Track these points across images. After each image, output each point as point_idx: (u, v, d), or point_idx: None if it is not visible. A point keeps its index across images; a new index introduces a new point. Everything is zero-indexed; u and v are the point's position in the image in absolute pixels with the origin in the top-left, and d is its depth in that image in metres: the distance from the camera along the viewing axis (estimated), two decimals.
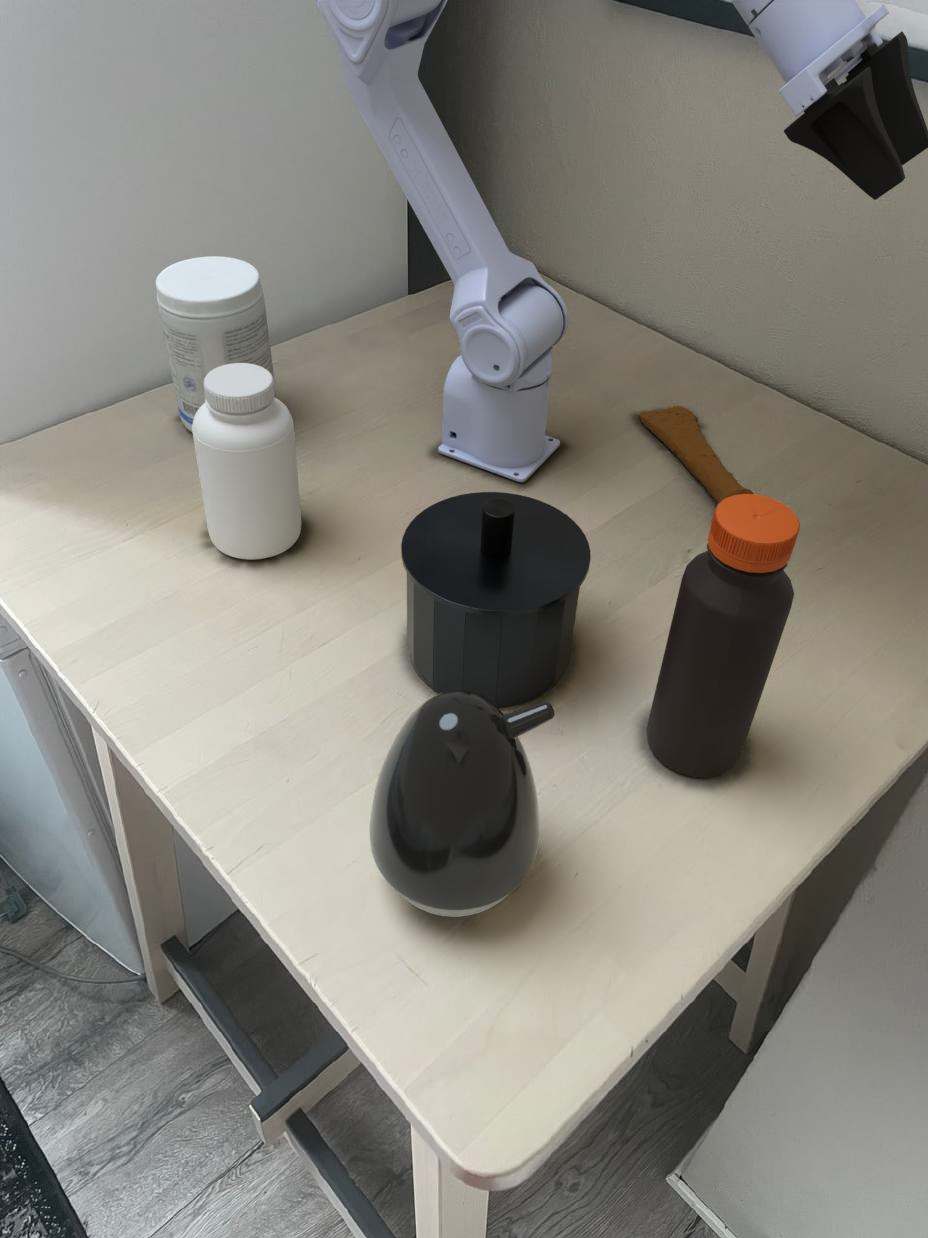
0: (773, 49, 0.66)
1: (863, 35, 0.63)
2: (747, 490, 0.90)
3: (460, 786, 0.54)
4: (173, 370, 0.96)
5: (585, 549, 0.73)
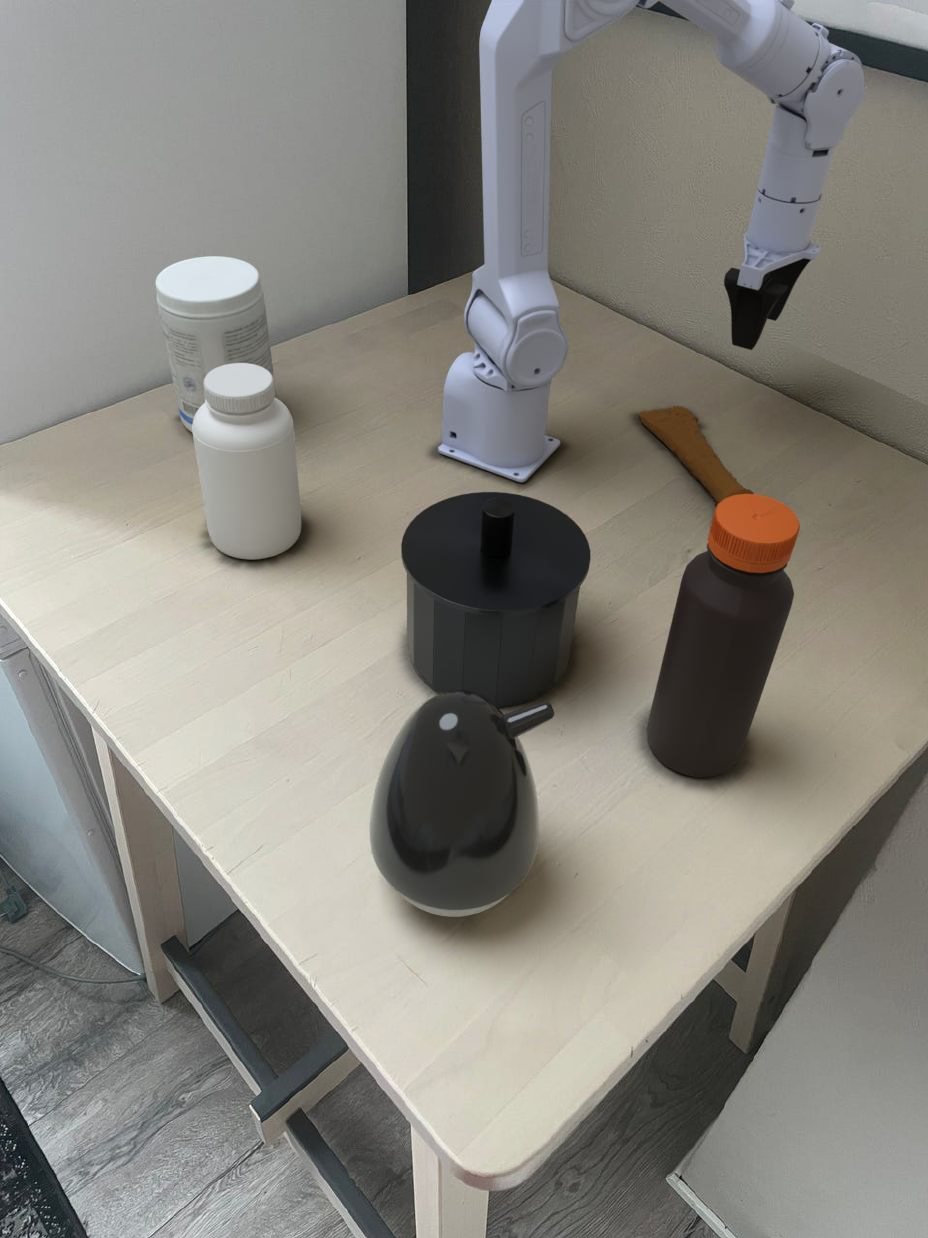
0: (757, 219, 0.93)
1: (799, 259, 0.94)
2: (747, 490, 0.90)
3: (460, 786, 0.54)
4: (173, 370, 0.96)
5: (585, 549, 0.73)
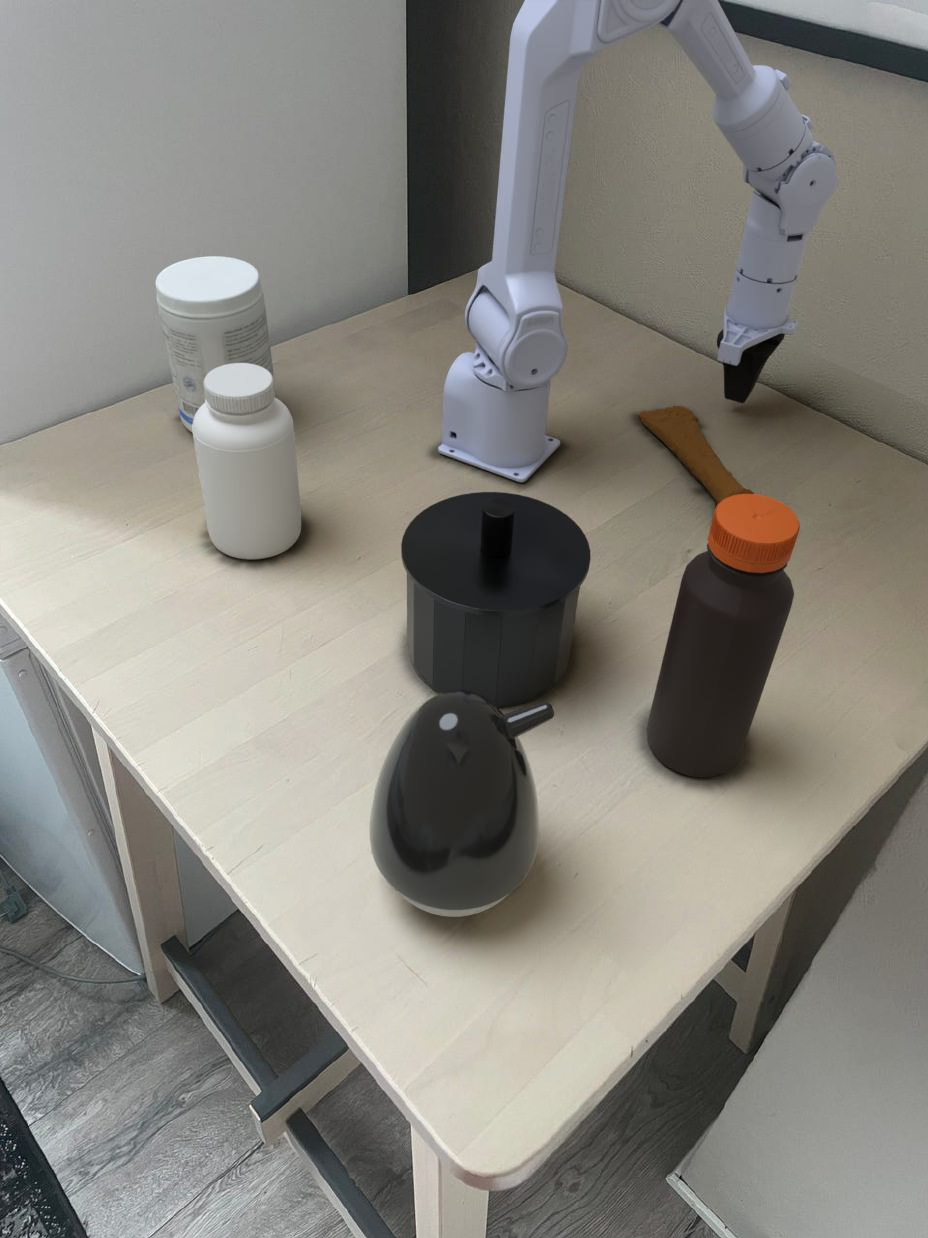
0: (736, 296, 0.97)
1: (777, 334, 0.98)
2: (747, 490, 0.90)
3: (460, 786, 0.54)
4: (173, 370, 0.96)
5: (585, 549, 0.73)
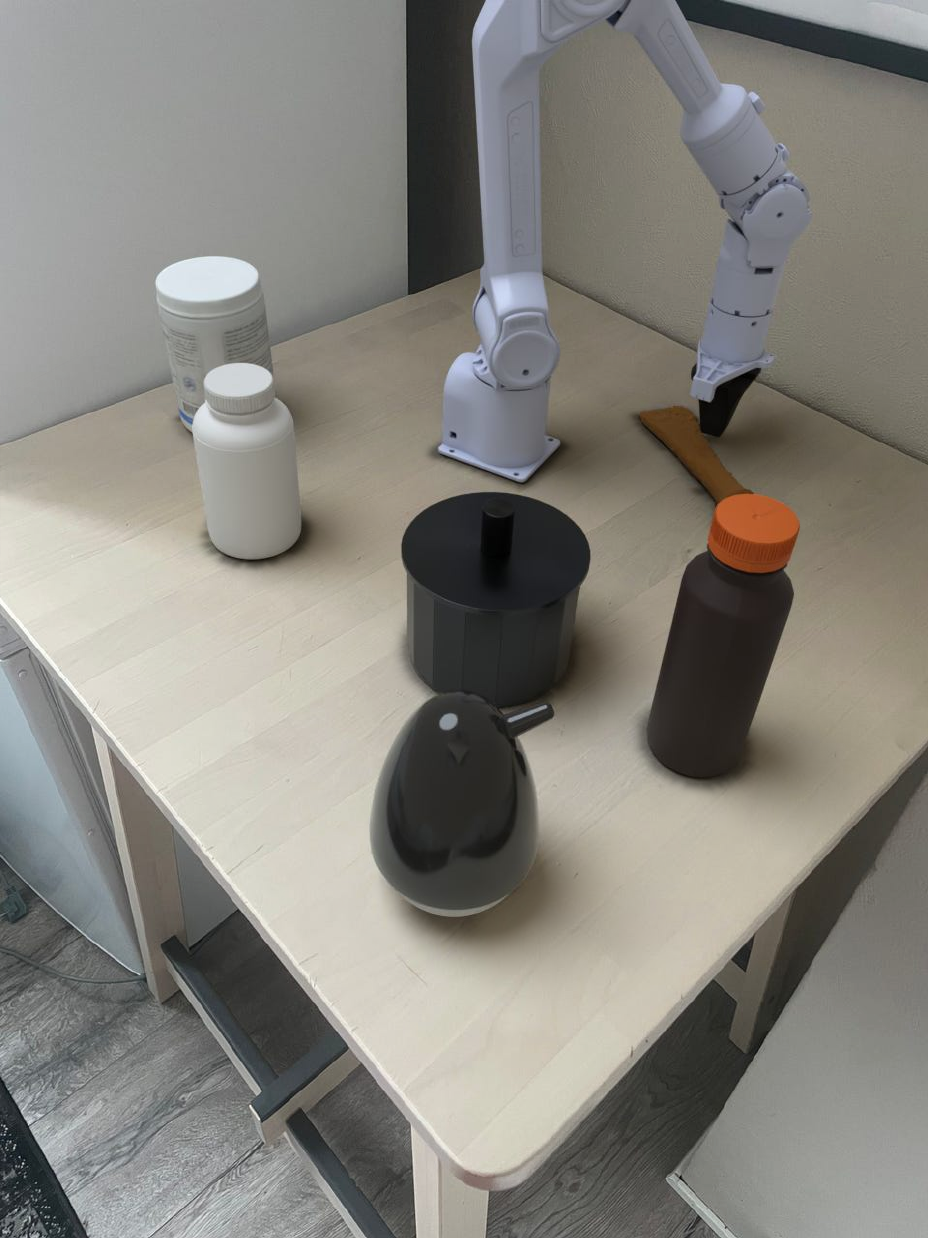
0: (710, 330, 0.93)
1: (752, 368, 0.94)
2: (747, 490, 0.90)
3: (460, 786, 0.54)
4: (173, 370, 0.96)
5: (585, 549, 0.73)
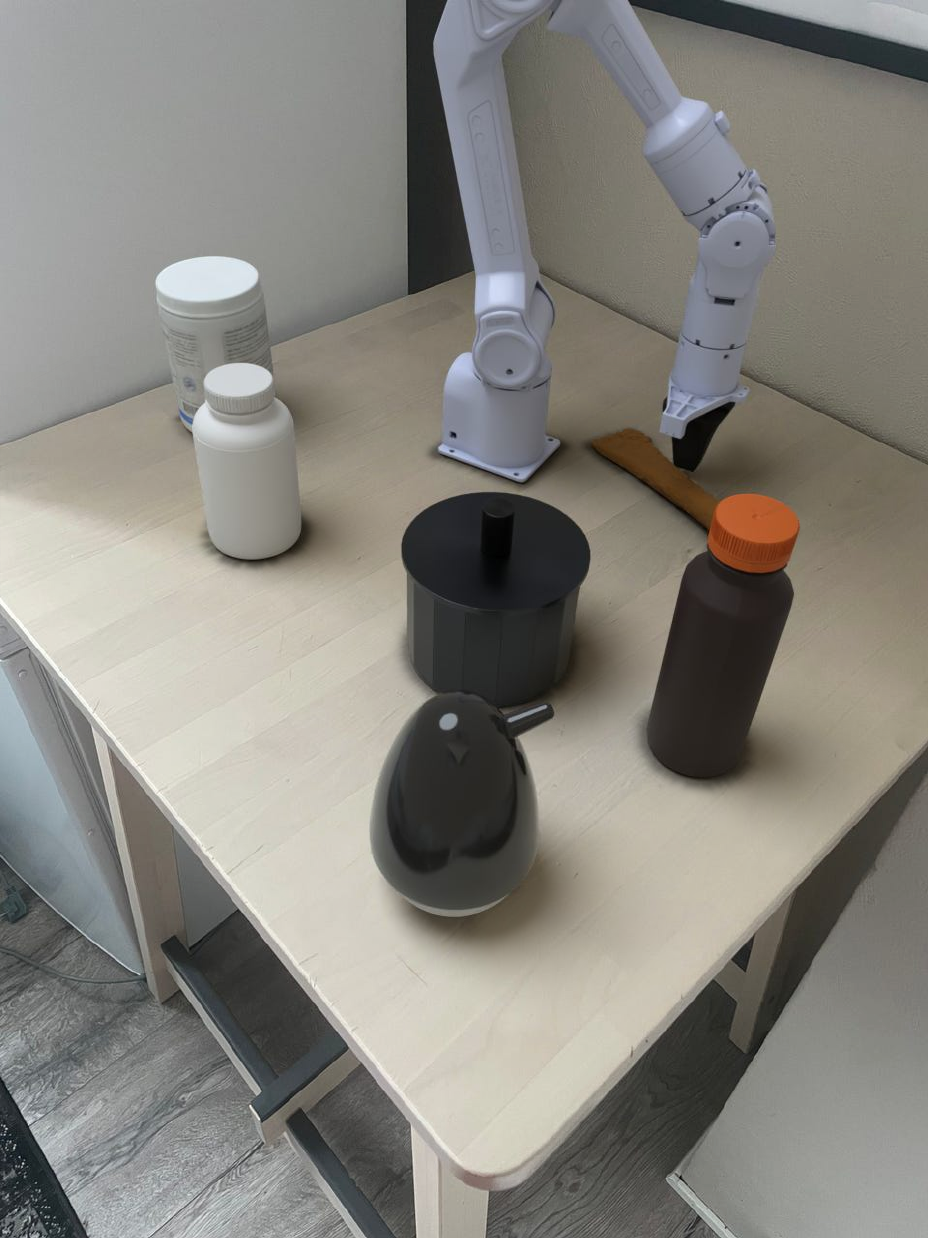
0: (681, 362, 0.88)
1: (726, 402, 0.89)
2: None
3: (460, 786, 0.54)
4: (173, 370, 0.96)
5: (585, 549, 0.73)
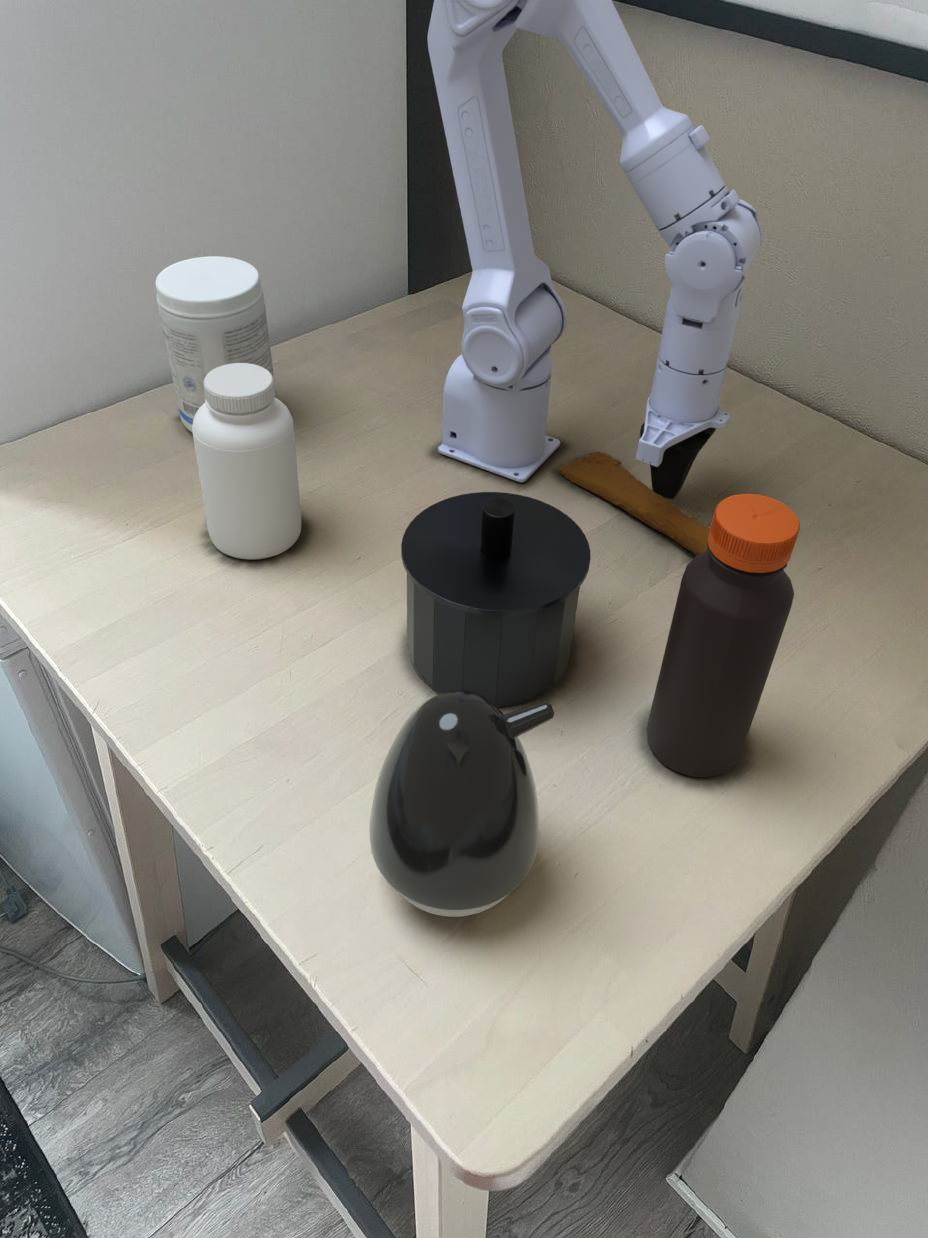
0: (658, 387, 0.85)
1: (705, 428, 0.86)
2: None
3: (460, 786, 0.54)
4: (173, 370, 0.96)
5: (585, 549, 0.73)
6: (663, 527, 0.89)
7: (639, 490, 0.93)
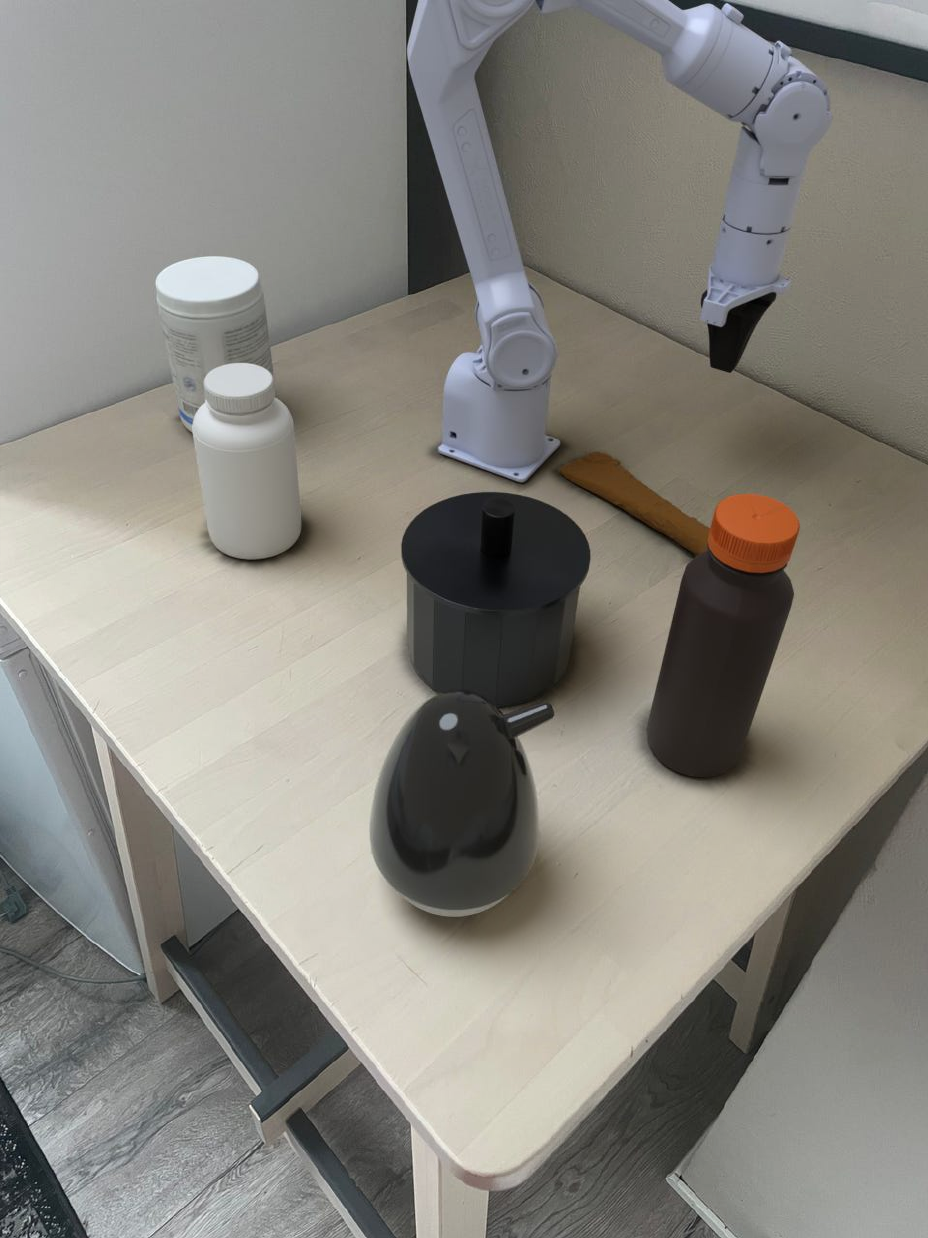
0: (722, 250, 0.87)
1: (767, 293, 0.88)
2: None
3: (460, 786, 0.54)
4: (173, 370, 0.96)
5: (585, 549, 0.73)
6: (663, 527, 0.89)
7: (639, 490, 0.93)
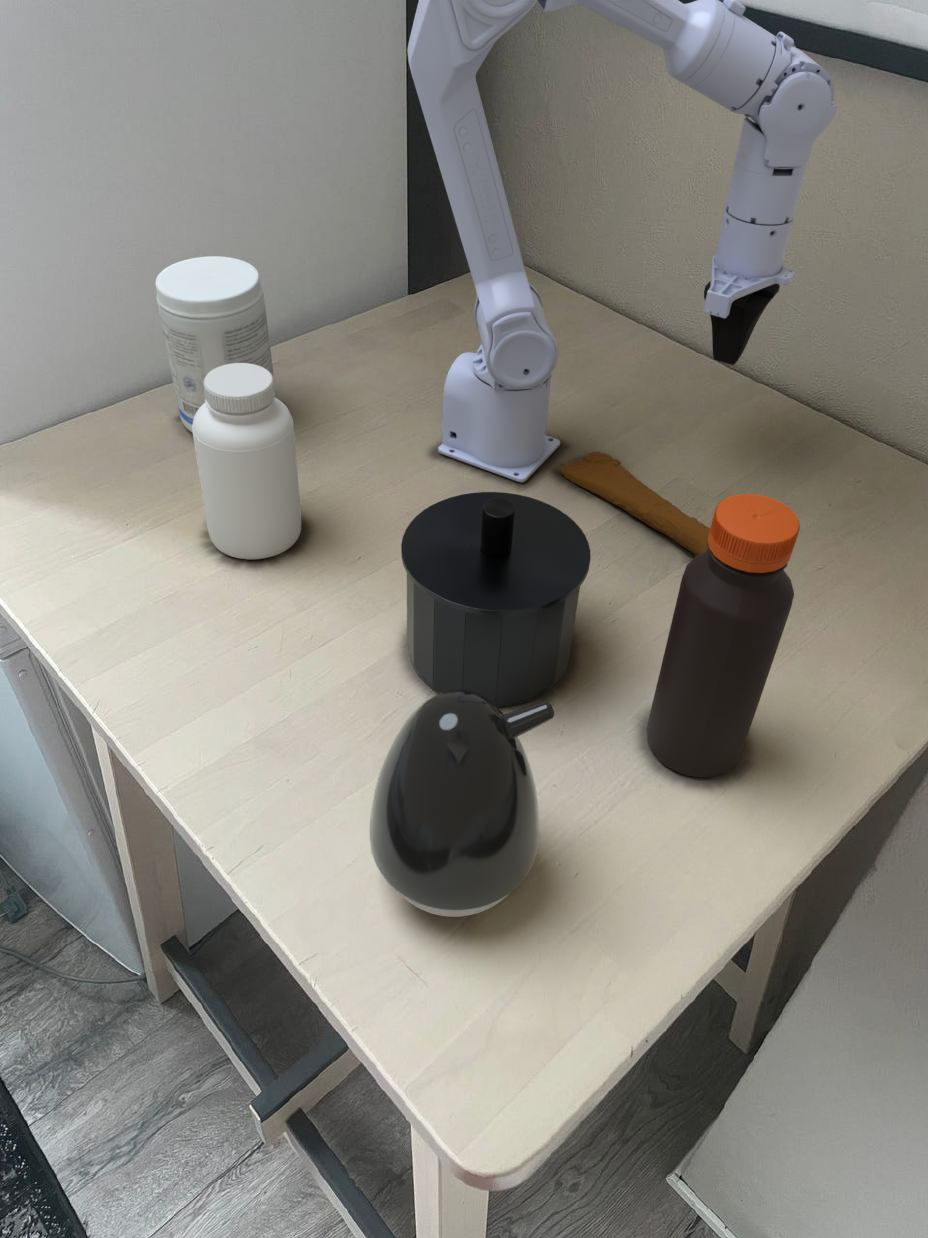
0: (725, 242, 0.86)
1: (771, 284, 0.87)
2: None
3: (460, 786, 0.54)
4: (173, 370, 0.96)
5: (585, 549, 0.73)
6: (663, 527, 0.89)
7: (639, 490, 0.93)
